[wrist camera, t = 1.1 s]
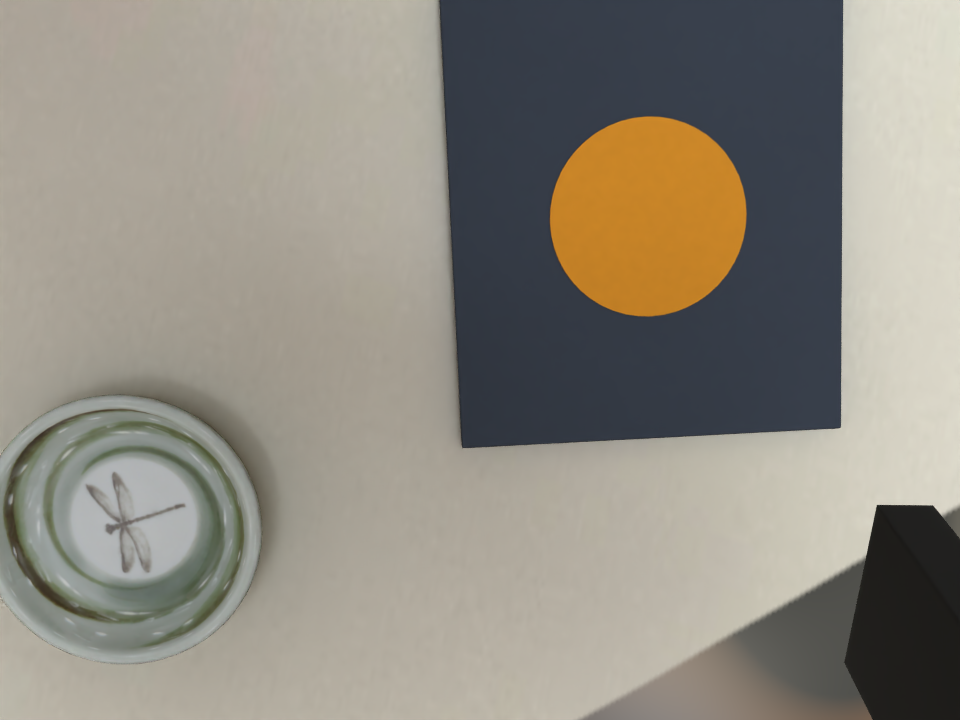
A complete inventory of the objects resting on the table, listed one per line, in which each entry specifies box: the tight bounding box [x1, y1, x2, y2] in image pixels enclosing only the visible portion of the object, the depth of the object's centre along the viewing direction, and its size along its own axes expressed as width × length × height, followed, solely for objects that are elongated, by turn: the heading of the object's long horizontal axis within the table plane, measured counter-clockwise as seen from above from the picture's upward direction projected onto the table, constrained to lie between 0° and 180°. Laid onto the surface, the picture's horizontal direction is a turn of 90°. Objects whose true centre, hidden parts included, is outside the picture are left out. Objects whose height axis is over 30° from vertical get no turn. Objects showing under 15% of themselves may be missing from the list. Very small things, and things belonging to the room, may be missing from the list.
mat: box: [440, 0, 843, 448], centre depth 33 cm, size 16×14×1 cm
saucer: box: [0, 395, 262, 664], centre depth 33 cm, size 10×10×2 cm
